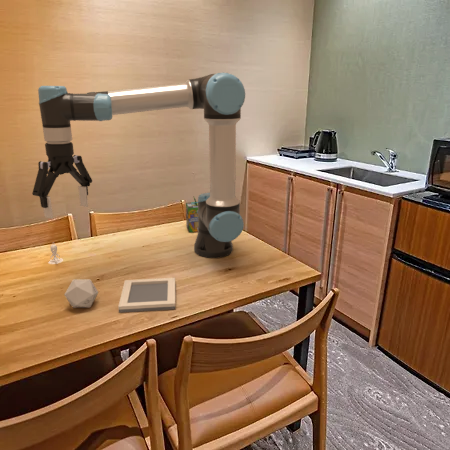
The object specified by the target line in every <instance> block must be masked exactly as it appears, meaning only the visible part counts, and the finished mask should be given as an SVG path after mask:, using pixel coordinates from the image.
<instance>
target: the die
mask: <svg viewBox="0 0 450 450" xmlns="http://www.w3.org/2000/svg"><path fill="white" fill-rule="evenodd" d="M98 294H99V291H98V289H97V287H96V286H95V284H94V283H93V281H92V280H91V279H90V278H89V279H88V278H87V279H86V278H85V279H77V278H75V279H72V280H71V282H70V284H69V286H68V288H67V289H66V291H65V292H64V297H65V298H66V299H67V302H68V303H69V305H70V306H71V307H72V308H73V309H75V308H81V309H82V308H84V309H85V308H87V309H89V308H91V307H92V305H93V303H94V301H95V299H96V297H97V296H98Z"/></svg>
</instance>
